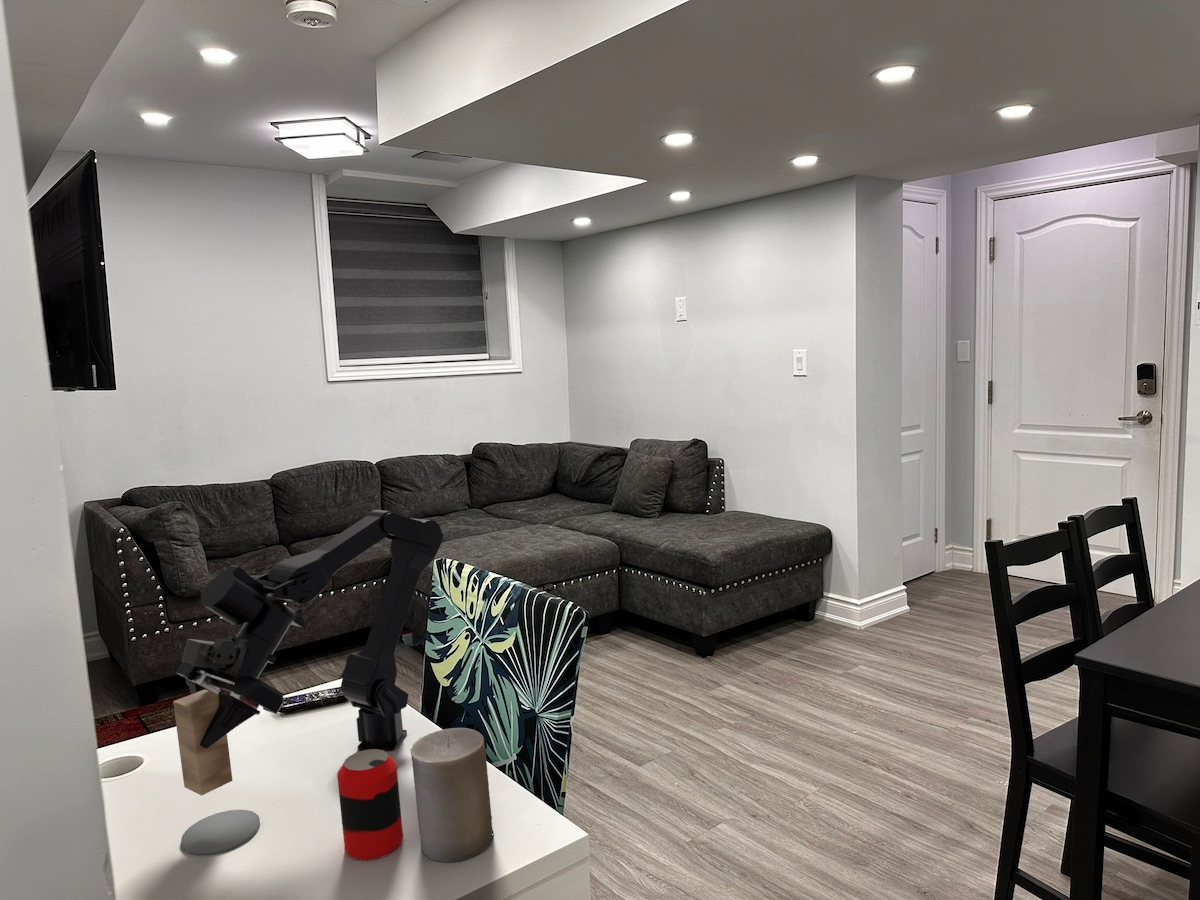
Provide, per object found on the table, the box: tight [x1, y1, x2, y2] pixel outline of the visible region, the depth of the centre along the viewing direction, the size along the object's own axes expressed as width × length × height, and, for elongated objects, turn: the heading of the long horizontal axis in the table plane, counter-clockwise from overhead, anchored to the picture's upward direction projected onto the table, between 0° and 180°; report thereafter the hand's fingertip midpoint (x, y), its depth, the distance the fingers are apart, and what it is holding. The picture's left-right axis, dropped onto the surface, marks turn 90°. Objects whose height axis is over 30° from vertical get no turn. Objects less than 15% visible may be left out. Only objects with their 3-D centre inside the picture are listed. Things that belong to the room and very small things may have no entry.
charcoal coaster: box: [180, 809, 261, 856], centre depth 117 cm, size 10×10×1 cm
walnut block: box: [172, 689, 233, 796], centre depth 116 cm, size 4×4×12 cm
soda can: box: [336, 749, 404, 861], centre depth 112 cm, size 8×8×12 cm
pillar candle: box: [409, 727, 494, 863], centre depth 111 cm, size 10×10×15 cm
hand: (193, 743), depth 115 cm, fingers closed on walnut block, 4 cm apart
